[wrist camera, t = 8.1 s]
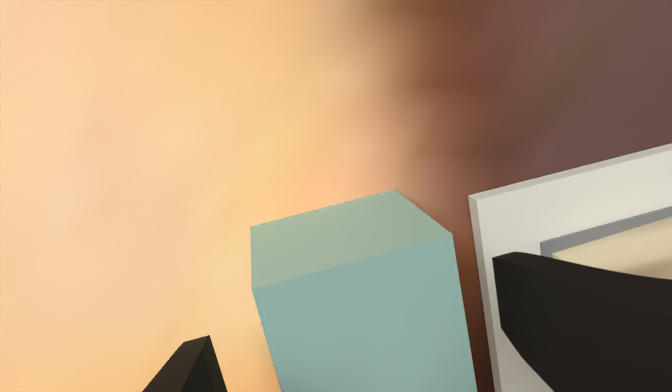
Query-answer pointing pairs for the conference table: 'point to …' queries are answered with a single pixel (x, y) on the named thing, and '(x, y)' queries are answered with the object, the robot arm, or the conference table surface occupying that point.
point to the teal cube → (362, 299)
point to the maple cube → (628, 251)
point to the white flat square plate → (561, 230)
